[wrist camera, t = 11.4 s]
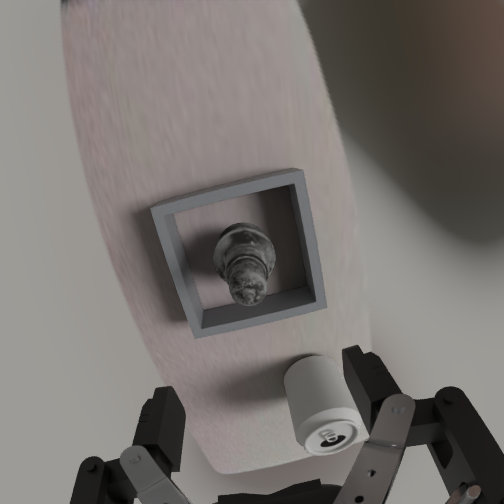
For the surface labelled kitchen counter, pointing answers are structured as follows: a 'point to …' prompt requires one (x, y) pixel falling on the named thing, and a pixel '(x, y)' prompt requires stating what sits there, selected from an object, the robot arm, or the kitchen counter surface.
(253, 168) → the kitchen counter surface
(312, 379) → the can
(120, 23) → the kitchen counter surface
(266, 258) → the chess piece
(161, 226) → the bin
